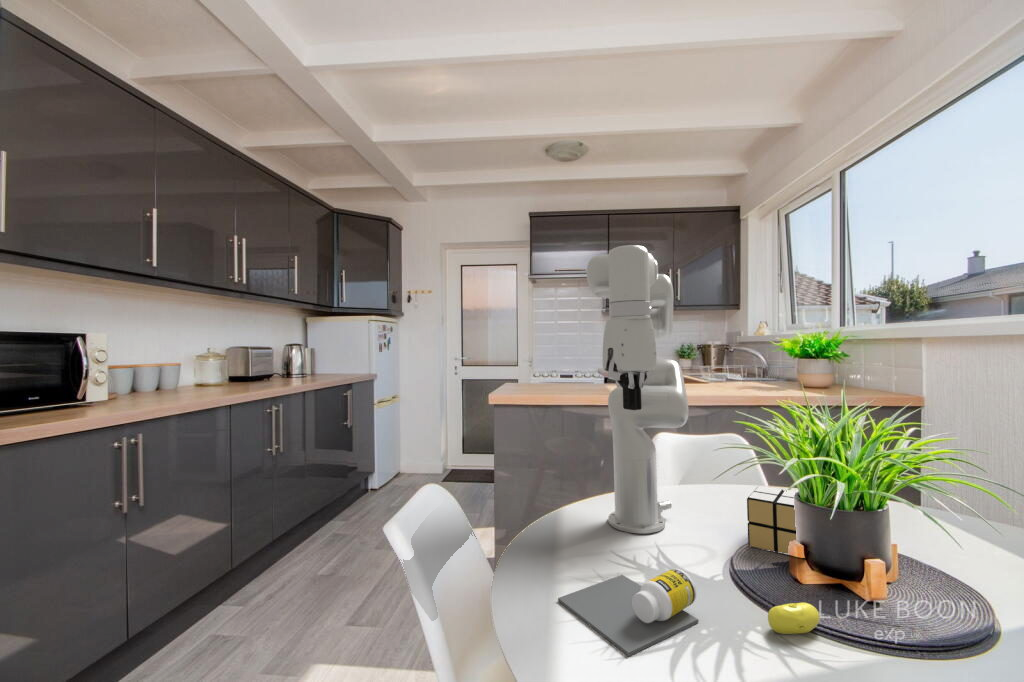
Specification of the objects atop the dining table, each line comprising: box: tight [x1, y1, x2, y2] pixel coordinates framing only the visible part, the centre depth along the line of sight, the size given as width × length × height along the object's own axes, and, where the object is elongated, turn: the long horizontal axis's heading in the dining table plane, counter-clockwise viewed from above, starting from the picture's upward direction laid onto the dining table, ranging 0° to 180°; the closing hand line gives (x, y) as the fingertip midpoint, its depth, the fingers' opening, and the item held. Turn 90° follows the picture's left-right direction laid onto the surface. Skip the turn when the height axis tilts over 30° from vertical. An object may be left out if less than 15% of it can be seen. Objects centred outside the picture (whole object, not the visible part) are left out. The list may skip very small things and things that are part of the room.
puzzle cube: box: [746, 485, 797, 553], centre depth 95 cm, size 10×10×10 cm
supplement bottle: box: [632, 568, 697, 623], centre depth 71 cm, size 5×5×10 cm
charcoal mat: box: [557, 574, 699, 657], centre depth 73 cm, size 14×16×1 cm
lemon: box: [767, 602, 821, 635], centre depth 67 cm, size 4×8×4 cm, turn 98°
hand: (632, 409), depth 89 cm, fingers closed
